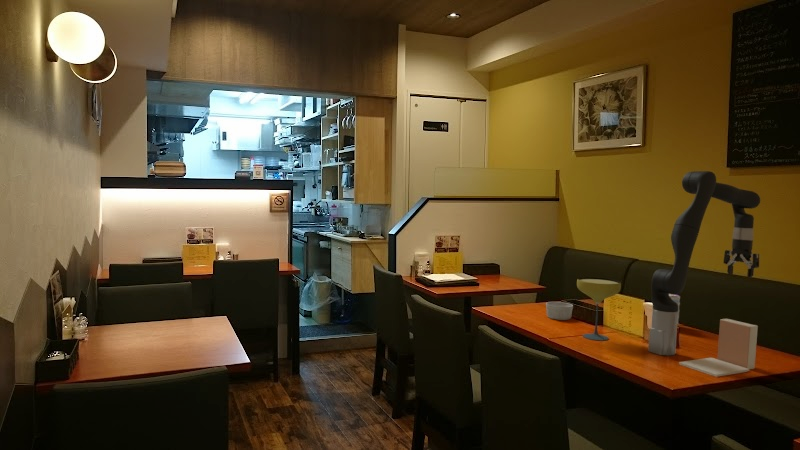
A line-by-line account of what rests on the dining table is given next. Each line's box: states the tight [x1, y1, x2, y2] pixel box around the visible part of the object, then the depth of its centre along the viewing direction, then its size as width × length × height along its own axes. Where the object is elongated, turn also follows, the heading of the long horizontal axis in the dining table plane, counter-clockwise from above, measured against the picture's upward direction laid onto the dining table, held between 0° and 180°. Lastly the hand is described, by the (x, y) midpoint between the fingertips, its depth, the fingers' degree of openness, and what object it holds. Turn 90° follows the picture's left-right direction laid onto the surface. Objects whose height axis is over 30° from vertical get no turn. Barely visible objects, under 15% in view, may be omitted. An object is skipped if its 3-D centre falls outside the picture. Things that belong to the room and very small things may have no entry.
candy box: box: [669, 294, 681, 326], centre depth 273 cm, size 14×6×16 cm, turn 168°
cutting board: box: [678, 357, 750, 378], centre depth 211 cm, size 18×15×1 cm
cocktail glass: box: [576, 276, 622, 342], centre depth 249 cm, size 18×18×25 cm
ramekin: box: [545, 301, 574, 321], centre depth 286 cm, size 13×13×7 cm
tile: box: [716, 318, 759, 370], centre depth 216 cm, size 4×12×16 cm, turn 26°
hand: (739, 275), depth 247 cm, fingers open, 8 cm apart
